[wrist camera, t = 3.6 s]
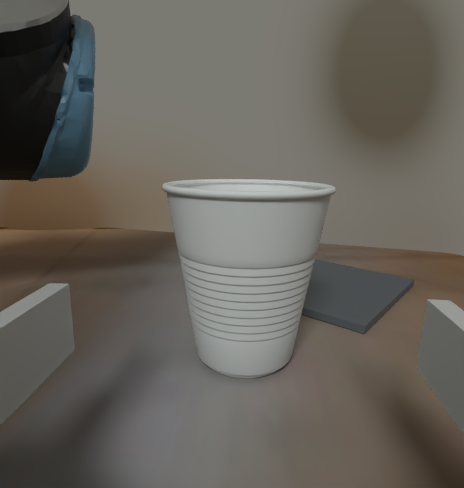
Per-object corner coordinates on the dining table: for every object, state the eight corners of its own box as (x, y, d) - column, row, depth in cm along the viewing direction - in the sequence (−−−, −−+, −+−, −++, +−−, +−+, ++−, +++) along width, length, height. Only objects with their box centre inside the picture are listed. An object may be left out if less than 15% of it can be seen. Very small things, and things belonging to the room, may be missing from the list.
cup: (135, 355, 23) (126, 182, 21) (236, 309, 30) (239, 177, 28) (256, 433, 17) (265, 196, 14) (349, 352, 24) (365, 185, 21)
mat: (206, 284, 36) (206, 278, 36) (280, 256, 47) (280, 252, 47) (364, 333, 27) (365, 326, 26) (413, 285, 37) (414, 279, 37)
